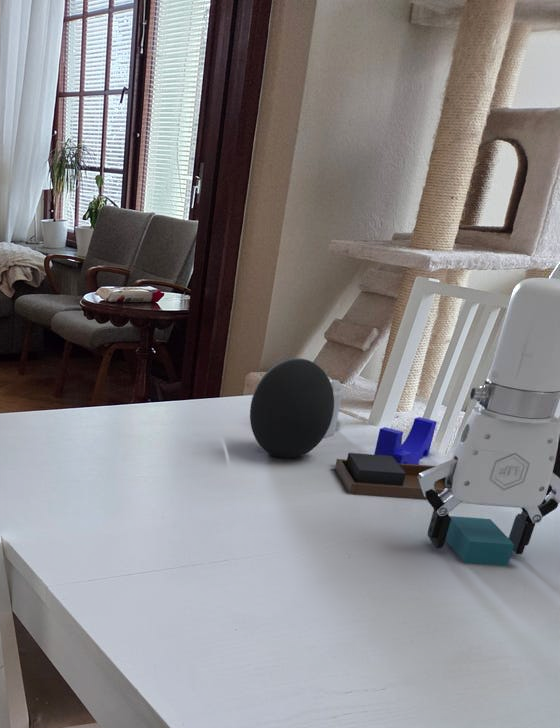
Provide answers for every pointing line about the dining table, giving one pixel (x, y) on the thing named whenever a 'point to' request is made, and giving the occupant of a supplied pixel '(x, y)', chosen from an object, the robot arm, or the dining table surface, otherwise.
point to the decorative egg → (292, 408)
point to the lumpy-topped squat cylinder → (335, 405)
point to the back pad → (375, 469)
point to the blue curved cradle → (407, 442)
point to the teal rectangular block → (479, 541)
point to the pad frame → (408, 489)
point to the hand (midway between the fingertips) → (474, 546)
